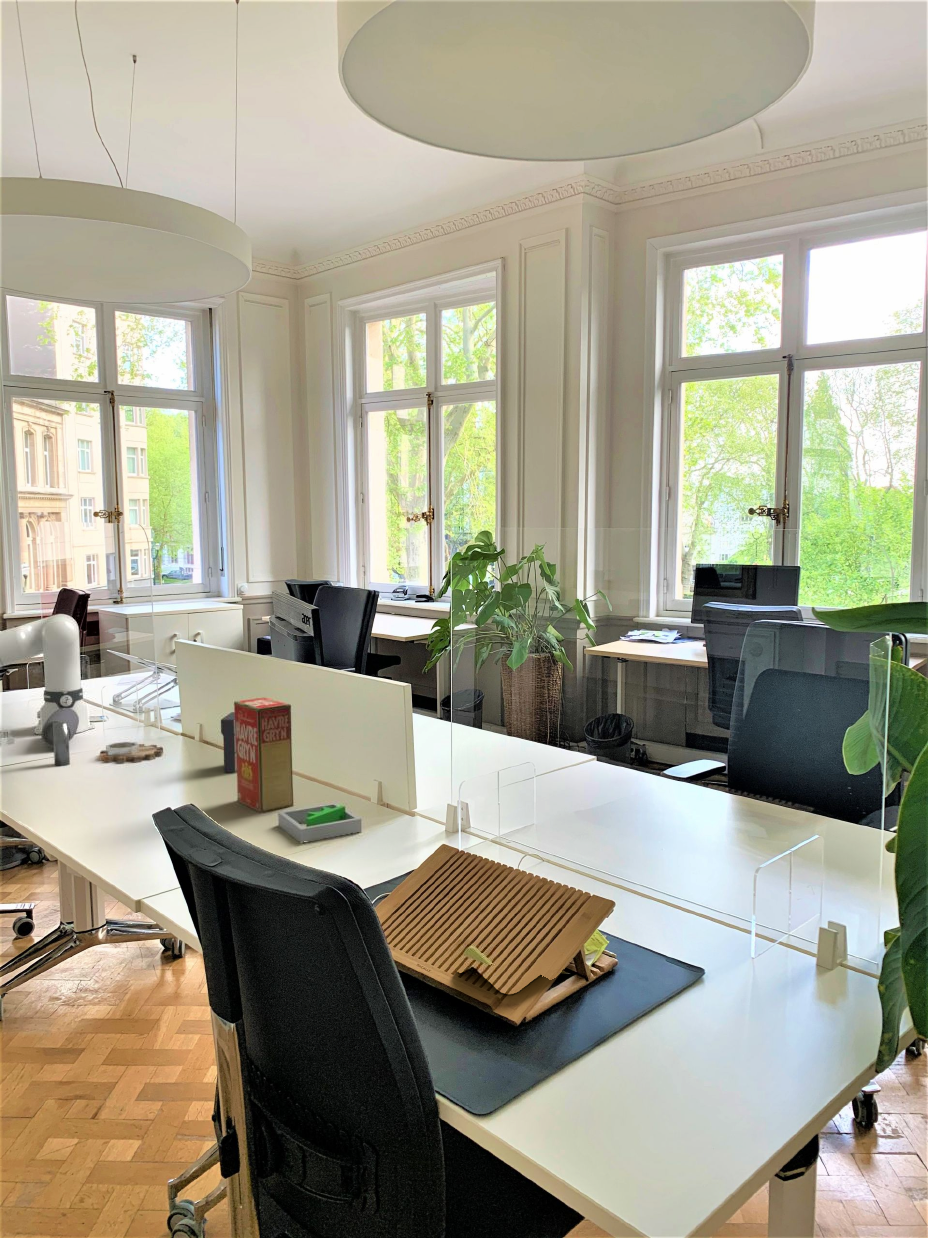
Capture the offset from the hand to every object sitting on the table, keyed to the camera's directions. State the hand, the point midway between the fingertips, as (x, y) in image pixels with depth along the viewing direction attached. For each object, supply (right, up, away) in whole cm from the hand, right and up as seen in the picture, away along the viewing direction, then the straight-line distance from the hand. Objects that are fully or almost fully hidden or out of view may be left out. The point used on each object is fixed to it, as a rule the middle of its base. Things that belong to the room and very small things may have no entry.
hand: (12, 737), depth 249 cm
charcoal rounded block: (+61, -9, +3) cm, 62 cm away
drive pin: (+10, -9, +8) cm, 16 cm away
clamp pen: (+93, -14, -49) cm, 106 cm away
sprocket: (+27, -8, +17) cm, 33 cm away
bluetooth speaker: (-2, -7, +33) cm, 34 cm away
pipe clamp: (+94, -14, -50) cm, 108 cm away
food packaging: (+77, -12, -30) cm, 84 cm away
